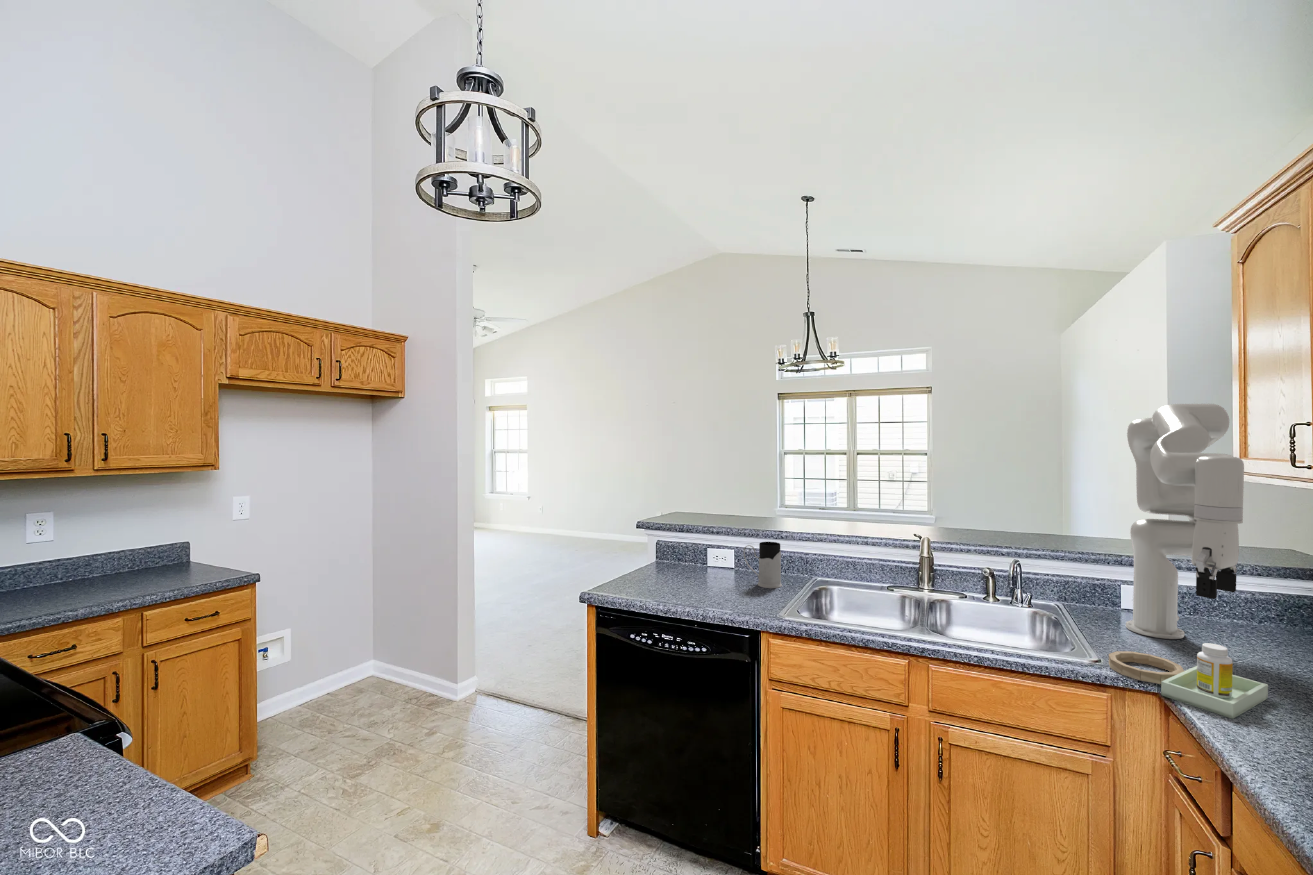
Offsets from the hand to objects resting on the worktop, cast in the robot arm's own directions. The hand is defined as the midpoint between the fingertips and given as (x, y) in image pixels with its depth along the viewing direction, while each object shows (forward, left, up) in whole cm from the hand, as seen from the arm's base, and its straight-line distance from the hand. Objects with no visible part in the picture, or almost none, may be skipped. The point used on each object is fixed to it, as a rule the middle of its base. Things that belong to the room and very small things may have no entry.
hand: (1216, 593), depth 126 cm
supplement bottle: (0, 0, -22) cm, 22 cm away
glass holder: (+29, -117, -22) cm, 122 cm away
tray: (0, 0, -22) cm, 22 cm away
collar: (-2, -13, -22) cm, 26 cm away
